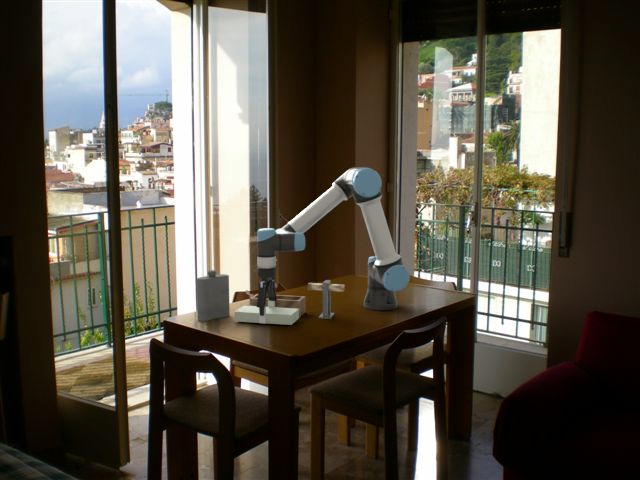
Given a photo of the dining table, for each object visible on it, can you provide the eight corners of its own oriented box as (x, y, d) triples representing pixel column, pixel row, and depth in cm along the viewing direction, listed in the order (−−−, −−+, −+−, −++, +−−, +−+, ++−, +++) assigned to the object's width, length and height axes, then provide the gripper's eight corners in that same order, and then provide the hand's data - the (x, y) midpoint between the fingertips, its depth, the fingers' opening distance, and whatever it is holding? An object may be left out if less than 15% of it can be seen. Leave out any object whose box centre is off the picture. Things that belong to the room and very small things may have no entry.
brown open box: (305, 312, 298) (305, 296, 297) (299, 317, 289) (299, 301, 288) (256, 309, 303) (256, 293, 302) (250, 314, 294) (249, 298, 293)
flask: (223, 313, 295) (223, 267, 292) (231, 316, 291) (231, 269, 288) (194, 319, 285) (192, 272, 282) (201, 322, 281) (200, 274, 278)
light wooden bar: (344, 290, 289) (344, 284, 289) (343, 291, 286) (343, 285, 286) (309, 288, 293) (309, 282, 292) (307, 290, 290) (307, 284, 289)
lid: (298, 318, 284) (298, 308, 283) (291, 324, 273) (291, 315, 273) (243, 314, 289) (243, 305, 289) (234, 321, 279) (234, 311, 278)
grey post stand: (334, 314, 294) (334, 279, 292) (330, 318, 286) (330, 283, 284) (323, 313, 295) (323, 279, 293) (318, 318, 287) (318, 282, 285)
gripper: (266, 272, 266) (267, 327, 269) (283, 262, 289) (284, 313, 292) (248, 271, 268) (248, 326, 271) (266, 261, 290) (267, 312, 293)
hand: (267, 319), depth 281 cm, fingers closed on lid, 11 cm apart
